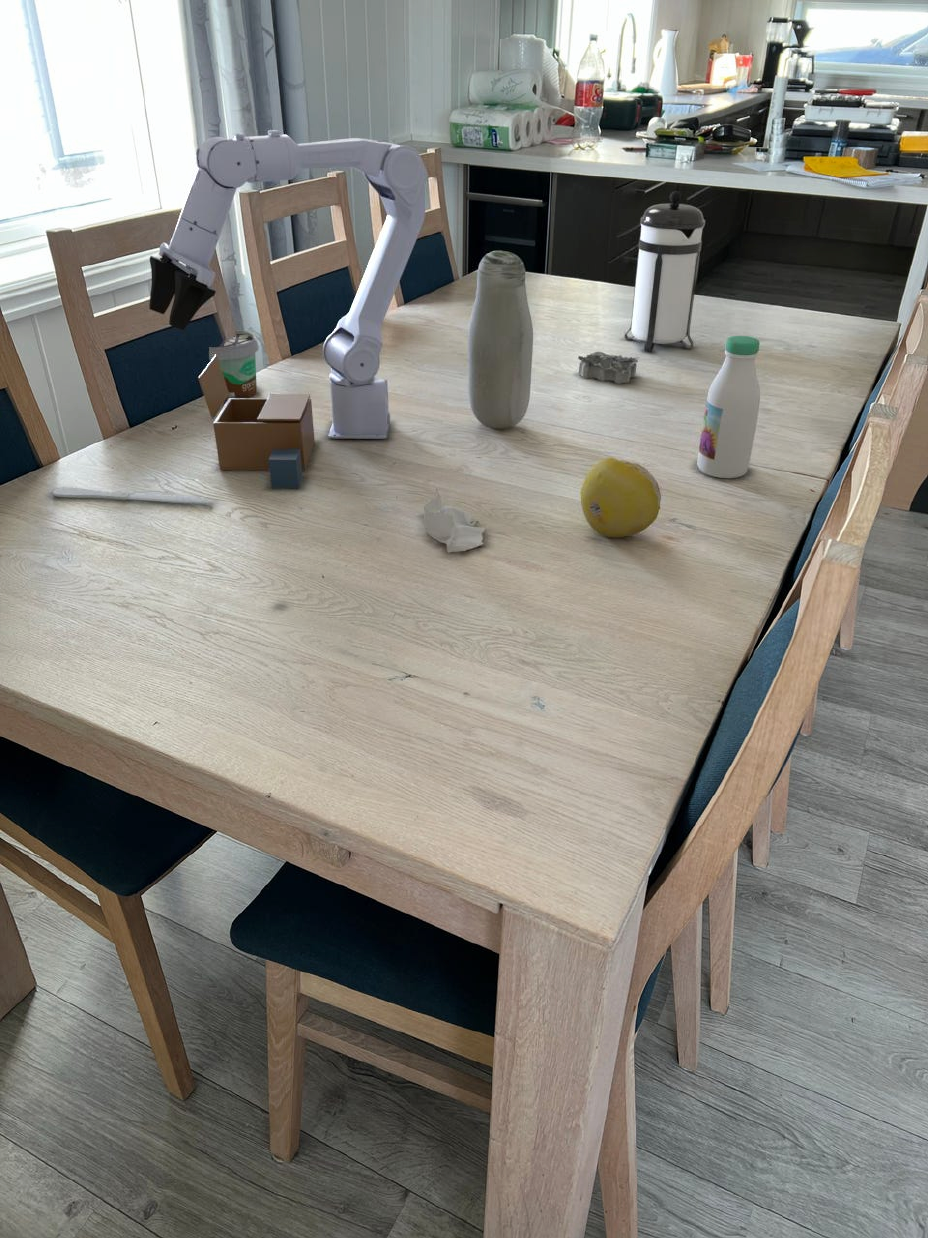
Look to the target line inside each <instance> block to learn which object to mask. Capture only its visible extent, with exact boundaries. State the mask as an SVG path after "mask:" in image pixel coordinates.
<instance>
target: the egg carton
mask: <svg viewBox="0 0 928 1238" xmlns="http://www.w3.org/2000/svg"><path fill="white" fill-rule="evenodd" d="M577 357H578V358H577V359H578V360H579V367H578V376H581V377H582V378H583V379H590V378H594V379H597V380H598V381H603V382H605V381H612V382H614V383H615V384H618V385H621V384H628V383H630V382H631V378H635V377H636V372H637V363H638V362H639V359H640V356H636V357H632V356H630V357H627V356H624V357H623V356H622V354H619V355H615V354H607V353H604V352H603V351H595V352H592V353H589V354H587V355H586V356H581V355H578V356H577Z"/></svg>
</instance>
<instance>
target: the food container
mask: <svg viewBox="0 0 928 1238" xmlns="http://www.w3.org/2000/svg"><path fill="white" fill-rule="evenodd" d="M234 334H235V335H233V336H232V337H231V338H229V339H225V340H223V341H222V342H221V344H219V346H217V347H211V346H209V347H208V349H209V351H208V359H209V361H211V360H212V358H213V357H214V356H215V355H217V357H218V360H219V363H220V366H221V370H222V373H223V376H224V379H225V382H226V385H227V389H228V392H229V395H228V397H227V398H226V400H225V401H224V403H226V402H227V401H228V399H229V398H253V397H255V395H256V394H257V393H258V392H257V391H258V388H257V387H258V386H257V365H256V363H257V362H256V359H257V358H256V353H257V352H258V351H259V349H260V346H259V343H258V341H257V339H256V337H255V335H254V334H253V333H252V332H250V331H246V330H240V329H234Z"/></svg>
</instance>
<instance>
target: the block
mask: <svg viewBox="0 0 928 1238" xmlns="http://www.w3.org/2000/svg"><path fill="white" fill-rule="evenodd" d="M268 462H269V470H268V471H269V477H270V487H271V489H299V488H300V486H301V483H302V481H303V470H302V465H301V454H300V449H273V451H272V453H271V455H270V457H269V459H268Z"/></svg>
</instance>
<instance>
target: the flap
mask: <svg viewBox="0 0 928 1238" xmlns="http://www.w3.org/2000/svg"><path fill="white" fill-rule="evenodd" d="M197 379H198V382H199V385H200V388H201V391H202V394H203V397H204V400H205V403H206V406H207V409H208V412H209V415H210V418H211V420H214V419H215V417H216V416H217V414H218V412H219V411H220V410H221V408H222V406H224V403H225V402H224V401H225V400H226V398H227V397H228V395H229V392H228V389H227V385H226V382H225V379H224V376H223V373H222V370H221V366H220V363H219V360H218V357H217V355H215V356H214V357H213V358H212V360H209V363H208V364H207V365H206V366H205V368H204V369H203V370H202V372H201V373H200V374H199V376H198V377H197Z"/></svg>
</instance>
